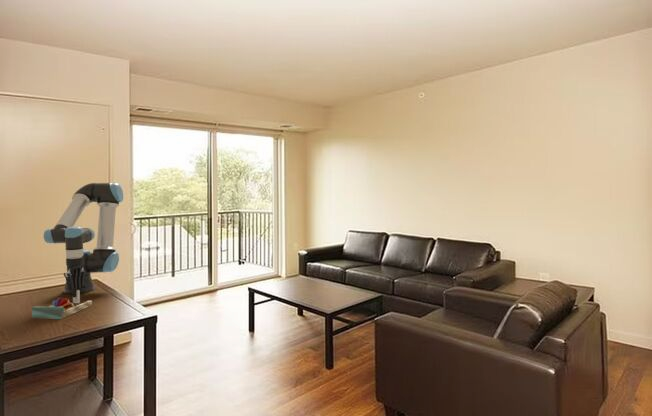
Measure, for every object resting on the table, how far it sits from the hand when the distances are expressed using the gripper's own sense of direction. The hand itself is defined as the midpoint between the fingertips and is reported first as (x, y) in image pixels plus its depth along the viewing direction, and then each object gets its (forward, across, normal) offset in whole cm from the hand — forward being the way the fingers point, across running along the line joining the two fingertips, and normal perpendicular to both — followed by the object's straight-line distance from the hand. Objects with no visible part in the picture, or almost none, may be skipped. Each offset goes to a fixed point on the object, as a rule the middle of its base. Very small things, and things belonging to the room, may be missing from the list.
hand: (76, 302), depth 197 cm
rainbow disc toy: (+2, +10, 0) cm, 10 cm away
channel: (+2, +8, 0) cm, 8 cm away
